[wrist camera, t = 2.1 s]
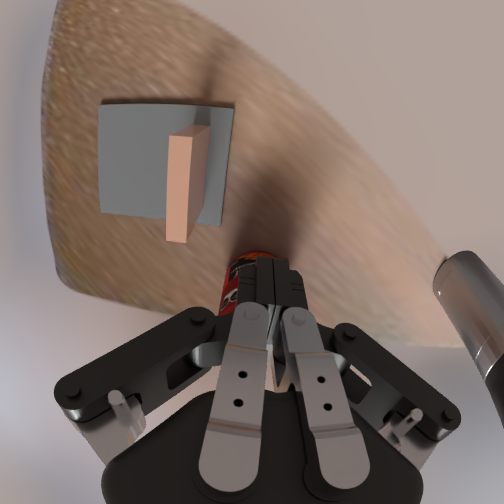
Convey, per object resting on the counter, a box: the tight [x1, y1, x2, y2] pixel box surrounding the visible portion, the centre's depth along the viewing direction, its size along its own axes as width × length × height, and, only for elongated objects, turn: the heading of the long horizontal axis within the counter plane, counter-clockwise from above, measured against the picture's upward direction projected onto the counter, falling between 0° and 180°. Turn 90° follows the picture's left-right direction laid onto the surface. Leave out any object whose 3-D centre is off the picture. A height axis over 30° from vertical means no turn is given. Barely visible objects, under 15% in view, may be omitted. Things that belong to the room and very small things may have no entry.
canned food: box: [218, 251, 276, 364], centre depth 32 cm, size 8×8×11 cm
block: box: [166, 125, 210, 243], centre depth 26 cm, size 2×9×8 cm, turn 172°
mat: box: [98, 104, 234, 227], centre depth 29 cm, size 15×13×1 cm
